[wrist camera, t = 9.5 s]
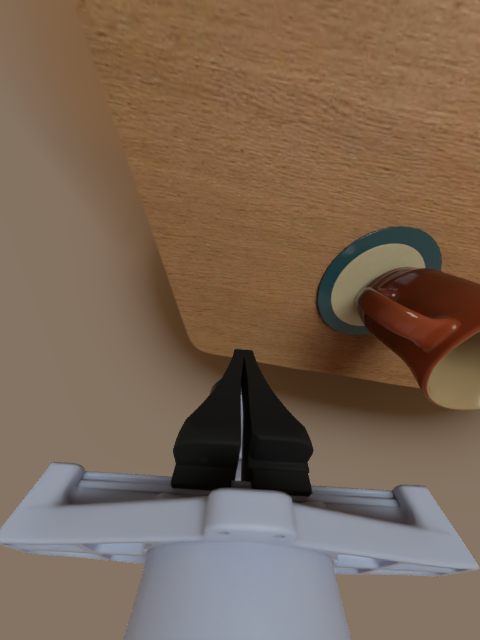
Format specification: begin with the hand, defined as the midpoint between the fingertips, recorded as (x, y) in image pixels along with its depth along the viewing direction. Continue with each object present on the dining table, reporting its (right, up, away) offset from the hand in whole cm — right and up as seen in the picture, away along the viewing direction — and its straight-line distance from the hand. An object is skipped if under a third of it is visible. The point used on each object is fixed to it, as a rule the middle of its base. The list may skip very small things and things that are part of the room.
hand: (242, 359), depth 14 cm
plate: (+14, +6, +6) cm, 17 cm away
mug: (+14, +6, +6) cm, 17 cm away
